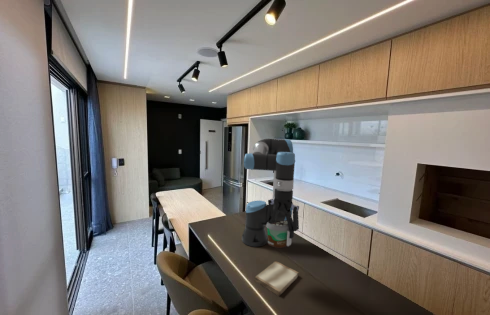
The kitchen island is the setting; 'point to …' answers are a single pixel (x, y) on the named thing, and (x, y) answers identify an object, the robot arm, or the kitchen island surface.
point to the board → (276, 277)
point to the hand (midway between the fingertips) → (280, 241)
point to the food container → (277, 234)
